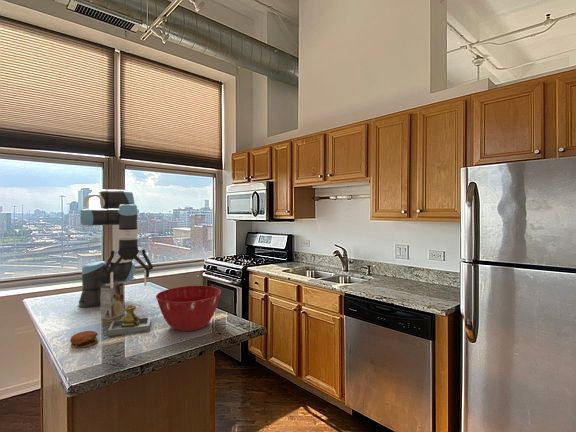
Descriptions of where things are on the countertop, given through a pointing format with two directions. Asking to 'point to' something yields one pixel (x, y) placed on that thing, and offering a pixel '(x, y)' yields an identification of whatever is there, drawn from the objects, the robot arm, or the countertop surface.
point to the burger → (84, 339)
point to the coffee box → (112, 300)
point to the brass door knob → (130, 317)
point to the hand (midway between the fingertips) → (128, 286)
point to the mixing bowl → (188, 306)
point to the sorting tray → (117, 330)
